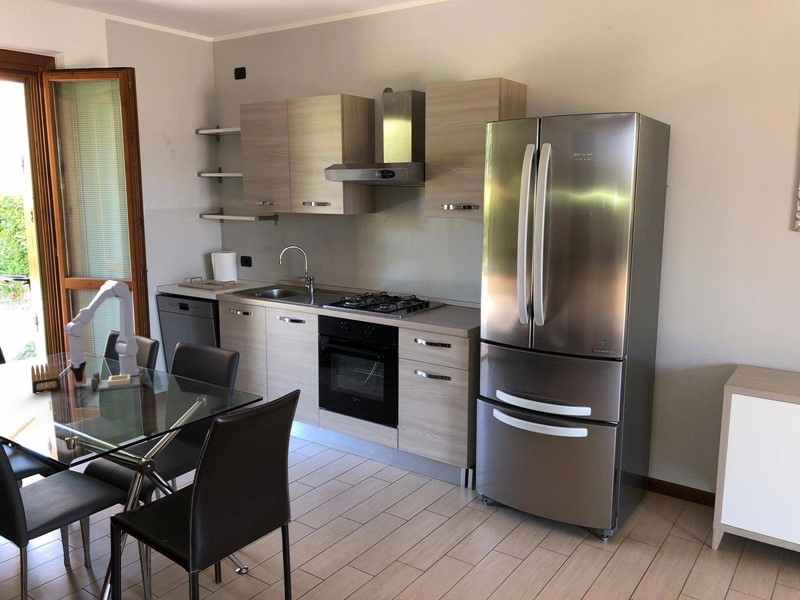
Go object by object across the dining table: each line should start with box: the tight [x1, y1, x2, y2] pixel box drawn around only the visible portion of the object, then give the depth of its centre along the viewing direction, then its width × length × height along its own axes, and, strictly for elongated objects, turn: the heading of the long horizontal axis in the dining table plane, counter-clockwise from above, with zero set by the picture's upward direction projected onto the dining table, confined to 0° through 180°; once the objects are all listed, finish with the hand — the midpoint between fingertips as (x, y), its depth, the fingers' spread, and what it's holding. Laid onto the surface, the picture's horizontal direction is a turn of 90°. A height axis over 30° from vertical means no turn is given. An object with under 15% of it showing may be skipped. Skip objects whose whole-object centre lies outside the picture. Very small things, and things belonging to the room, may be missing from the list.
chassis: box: [90, 367, 147, 392], centre depth 292 cm, size 14×21×5 cm, turn 109°
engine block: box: [72, 370, 87, 386], centre depth 289 cm, size 4×4×6 cm
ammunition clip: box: [30, 361, 62, 394], centre depth 284 cm, size 11×2×12 cm, turn 127°
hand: (80, 380), depth 289 cm, fingers closed on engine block, 4 cm apart
